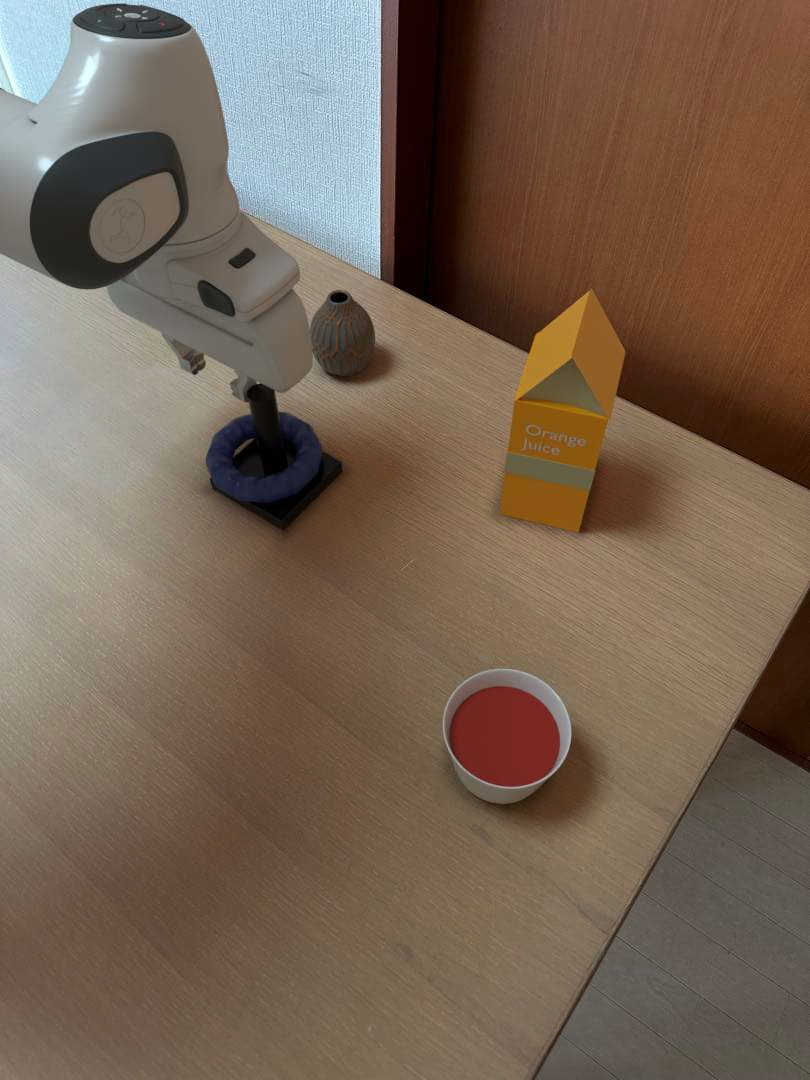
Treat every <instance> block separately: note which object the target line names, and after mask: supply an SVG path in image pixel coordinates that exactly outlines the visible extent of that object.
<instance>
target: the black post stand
mask: <svg viewBox="0 0 810 1080" xmlns="http://www.w3.org/2000/svg"><path fill="white" fill-rule="evenodd" d="M247 398H248V402H247V403H248V406H249V407H248V408H249V411H250V414H251V416H252V421H253V425H254V430H255V435H256V438H255V439H251V440H250V442H249V443H248V444H247V445H245V446H244V447H243V448H242V449H241V450H239V452H237V454H235V455H234V456H233V460H232V461H233V463H234V466H235V468H236V469H237V470H239V471H241V472H242V473H244V474H246V475H250V476H263V477H266V476H269V475H272V474H275V473H278V472H281V471H284V470H285V469H286V468H287V467H288V466H289V465H290V464H291V463H292V462H294V460H295V456H296V453H297V451H296V449H295V447H294V445H293V443H291V442H290V441H288V440H286V439H284V438H283V434H282V428H281V423H280V417H279V412H280V411H279V407H278V406H279V405H278V401H277V400H278V399H277V395H276V391H275V390H273V389H271V388H269V387H267V386H265V385H263V384H261V383H257V384H256V385H253V386H252V387H250V388H249V390H248V392H247ZM343 468H344V467H343V461H342V460H340V459H338V458H337V457H334V456H333V455H331V454H329V453H327V452H325V451H323V453H322V458H321V462H320V466H319V471H318V473H317V475H316V476H315V477H314V478H313V479H312V480H311V481H310V482H309V483H308V484H307V485H306V486H305V487H304V488H303V489H302V490H301V491H300V492H298V493H297V494H295V495H292V496H289V497H286V498H283V499H280V500H277V501H274V502H271V503H260V502H248V501H239V500H237V499H235V498H234V497H232V496H230V495H229V494H227V493H225V492H224V491H222V490H221V489H219V488H217V487H216V486H215V485H214V483H213V481H212V478H211V477H209V482H210V485H211V489H212V490H213V491H215V492H216V493H218V494H220V495H222V496H223V497H225V498H227V499H228V500H230V501H231V502H234V503H235V504H236V505H238V506H240V507H241V508H244V509H245V510H246V511H248V512H250V513H252V514H253V515H255V516H257V517H259V518H260V519H262V520H264V521H265V522H267V523H269V524H270V525H272V526H274V527H276V528H277V529H279V530H281V531H282V532H285V530H286V529H288V527H289V526H291V525H292V523H293V522H295V520H297V518H298V517H300V515H302V514H303V512H304V511H305V510H307V509H308V507H309V506H310V505H312V503H314V501H315V500H317V498H318V497H319V496H320V495H322V493H323V492H324V491H325V490H326V489H327V488H329V486H331V484H332V483H333V482H334V481H335V480H336V479H337V478H338V477H339V476H340V475H341V474H342V473H344V469H343Z"/></svg>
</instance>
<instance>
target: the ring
mask: <svg viewBox="0 0 810 1080" xmlns="http://www.w3.org/2000/svg"><path fill="white" fill-rule="evenodd" d="M278 412H279V417H280V423H281V428H282V434H283V438H284V439H286V440H288V441H290V442H291V443H293V445H294V447H295V449H296V451H297V453H296V456H295V460H294V462H292V463H291V464H290V465H289V466H288V467H287V468H286V469H285V470H284V471H281V472H278V473H275V474H272V475H269V476H266V477H263V476H250V475H246V474H244V473H242V472H241V471H239V470H237V469H236V468H235V466H234V463H233V461H232V460H233V457H235V453H236V451H237V450H238V449H239V448H240V447H242V446H243V445H244V444H245V443H246V442H248V441H252V440H254V439H255V438H256V435H255V430H254V425H253V421H252V416H251V413H248V414H244V415H241V416H238V417H235V418H233V419H231V420H230V421H229V422H228V423H227V424H225V425H224V426H223V427H222V428H221V429H220V430H218V431H217V432H216V433H214V435H213V437H212V438H211V440H210V444H209V446H208V449H207V453H206V456H205V460H204V461H205V465H206V468H207V470H208V473H209V476H210V478H212V481H213V483H214V485H215V486H216V487H217V488H219V489H221V490H222V491H224V492H225V493H227V494H229V495H230V496H232V497H234V498H235V499H237V500H239V501H248V502H260V503H271V502H274V501H277V500H280V499H283V498H286V497H289V496H292V495H295V494H297V493H298V492H300V491H301V490H302V489H303V488H304V487H305V486H306V485H307V484H308V483H309V482H310V481H311V480H312V479H313V478H314V477H315V476H316V475H317V473H318V471H319V466H320V462H321V458H322V453H323V452H324V449H323V445H322V443H321V440H320V438H319V437H318V435H317V432H316V431H315V429H314V427H313V426H312V425H311V424H310V423H308V422H306V421H305V420H302V419H301V418H299V417H297V416H295V415H294V414H292V413H289V412H286V411H278Z"/></svg>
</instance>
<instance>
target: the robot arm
mask: <svg viewBox="0 0 810 1080" xmlns="http://www.w3.org/2000/svg"><path fill="white" fill-rule="evenodd" d="M69 40H70V42H69V47H68V50H67V53H66V56H65V58H64V60H63V64H62V66H61V68H60V70H59V73H58V74H57V75H56V78H55V80H54V81H53V82H52V84H51V86H50V88H49V89H48V90H47V92H46V93H45V94H44V96H43V97H42V98H41V99H40V101H38V103H36V102H34V101H31V100H28V99H27V98H24V97H22V96H19V95H16V94H14V93H12V92H9V91H6V90H5V89H4V88H2V87H0V254H1V255H2V256H4V257H6V258H9V259H11V260H13V261H15V262H17V263H18V264H20V265H23V266H25V267H26V268H29V269H30V270H33V271H35V272H37V273H39V274H40V275H43V276H45V277H47V278H49V279H52V280H53V281H56V282H58V283H61V284H63V285H65V286H68V287H70V288H74V289H78V290H97V289H102V288H105V287H106V292H107V294H108V297H109V299H110V301H111V302H112V303H113V305H114V306H115V307H116V308H117V310H118V311H119V312H121V313H122V314H124V315H127V316H128V317H131V318H133V319H134V320H137V321H138V322H141V323H143V324H144V325H146V326H148V327H150V328H152V329H154V330H156V331H157V332H159V333H161V336H162V338H163V340H164V341H165V342H166V343H167V345H168V346H169V348H170V349H171V350H172V352H173V353H174V354H175V356H176V357H177V359H178V363H179V367H180V369H181V370H183V371H185V372H187V373H189V374H191V375H193V376H196V375H198V374H199V372H200V371H203V370H204V369H205V368H206V364H207V361H206V359H205V356H207V357H208V358H210V359H212V360H214V361H216V362H218V363H220V364H221V365H225V366H226V367H228V368H230V369H232V370H233V371H234V374H235V375H237V378H234V379H233V380H231V381H230V382H229V386H230V389H231V395H232V396H233V397H235V398H237V399H238V400H239V401H242V402H243V403H249V402H248V398H247V392H248V390H249V388H250V387H252V386H253V385H256V384H260V383H261V384H263V385H265V386H267V387H269V388H271V389H273V390H275V392H277V393H280V394H285V393H286V392H288V391H290V390H292V388H294V387H295V386H296V385H298V384H299V383H300V382H302V380H303V379H304V378H305V377H306V376H307V375H308V374H309V373H310V371H311V370H312V368H313V366H314V365H313V364H314V355H313V352H312V343H311V336H310V325H309V319H308V313H307V311H306V308H305V305H304V303H303V300H302V299H301V297H300V296H299V294H298V293H297V291H296V290H295V289H294V287H295V286H296V285H297V284H298V283H299V282H300V279H301V269H300V265H299V263H298V261H297V260H296V259H295V258H294V257H293V256H292V255H291V254H290V253H289V252H287V251H286V250H285V249H284V248H283V247H281V246H280V245H278V243H276V242H275V241H273V240H272V239H271V238H270V237H269V236H268V235H267V234H265V233H264V232H263V231H262V230H261V229H260V228H259V227H258V226H257V225H256V224H255V222H254V221H252V219H251V218H250V217H249V216H248V215H247V214H245V213H244V212H242V211H241V207H240V202H239V198H238V194H237V191H236V188H235V187H234V185H233V183H232V181H231V179H230V176H229V172H228V171H229V170H228V161H229V156H230V155H229V154H230V152H229V149H230V148H229V146H230V145H229V139H228V133H227V127H226V122H225V121H226V120H225V115H224V111H223V107H222V106H223V105H222V102H221V97H220V92H219V89H218V85H217V81H216V78H215V73H214V70H213V67H212V64H211V61H210V58H209V56H208V53H207V51H206V48H205V45H204V43H203V42H202V39H201V37H200V35H199V34H198V32H197V30H196V28H195V27H193V25H191V24H190V23H189V22H187V21H186V19H184V18H182V17H180V16H178V15H176V14H174V13H171V12H168V11H165V10H163V9H159V8H155V7H152V6H148V5H144V4H127V3H126V2H125V3H122V2H121V3H119V2H118V3H106V4H100V5H94V6H91V7H88V8H85V9H84V10H82V11H80V12H78V13H77V14H75V15H74V16H73V17H72V19H71V21H70V39H69Z"/></svg>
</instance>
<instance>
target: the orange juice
mask: <svg viewBox="0 0 810 1080" xmlns="http://www.w3.org/2000/svg"><path fill="white" fill-rule="evenodd" d="M625 356H626V349H625V348H624V346H623V344H622V342H621V339H620V338H619V336H618V335H617V333H616V330H615V329H614V327H613V325H612V324H611V321H610V320H609V318H608V316H607V314H606V313H605V310H604V309H603V307H602V305H601V303H600V301H599V299H598V297H597V296H596V294H595V292H594V290H593V288H592V287H590V288H589V290H588V291H587V292H586V293H585V294H583V295H582V296H581V297H580V298H579V299H578V300H576V301H575V302H573V304H572V305H570V306H569V307H568V308H567V309H565V310H564V311H563V312H562V313H561V314H559V315H558V316H557V317H556V318H555V319H554V320H552V321H551V322H550V323H548V324H547V325H546V326H545V327H544V328H543V329H541V330H540V331H539V332H536V334H535V335H534V338H533V342H532V344H531V348H530V350H529V354H528V356H527V360H526V362H525V366H524V369H523V371H522V375H521V378H520V381H519V384H518V387H517V390H516V393H515V396H514V400H513V409H512V417H511V423H510V431H509V439H508V445H507V446H508V447H507V451H506V457H505V466H504V475H503V483H502V484H503V485H502V492H501V499H500V505H499V506H500V507H499V515H501V516H505V517H509V518H513V519H514V518H515V519H519V520H522V521H523V520H524V521H526V522H531V523H535V524H540V525H544V526H549V527H553V528H557V529H561V530H565V531H570V532H575V533H579V532H580V528H581V525H582V521H583V518H584V514H585V510H586V506H587V502H588V498H589V494H590V491H591V488H592V486H593V485H592V484H593V480H594V477H595V473H596V469H597V465H598V462H599V457H600V452H601V448H602V446H603V441H604V437H605V439H606V438H607V437H606V436H605V435H606V434H605V433H606V431H607V430H608V423H610V421H611V418H612V413H613V409H614V405H615V400H616V397H617V391H618V388H619V383H620V378H621V374H622V370H623V366H624V362H625Z"/></svg>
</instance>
